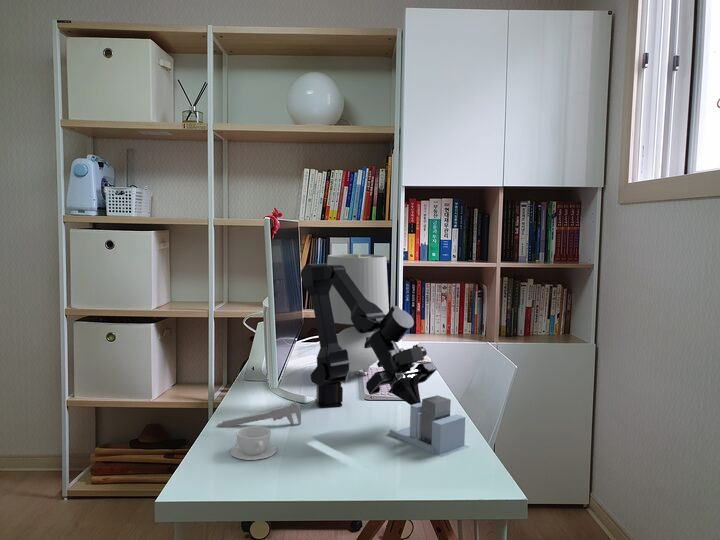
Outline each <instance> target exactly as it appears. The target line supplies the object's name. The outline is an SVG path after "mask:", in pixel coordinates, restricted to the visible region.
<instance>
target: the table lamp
mask: <svg viewBox="0 0 720 540" xmlns="http://www.w3.org/2000/svg"><path fill="white" fill-rule="evenodd" d="M326 261H327V262H326V264H327V265H342V266H344V267H345V269H346V273H347V274H348V275H349V277H350V278H351V279H352V281H353V282H354V284H355V285H356V286H357V288H358V289H359V290H360V292H361V293H362V294H363V296H364V297H365V298H366V299H367V300H368V301H370V302H372V303H374V304H376V305H377V306H378V307H379V308H380V309H381V310H382V311H383V312H384V314H385V315H386V314H387V313H388V312H389V310H390V308H389V307H390V303H389V285H388V284H389V283H388V269H387V268H388V266H387V265H388V264H387V256H385V255H380V254H366V253H365V254H364V253H363V254H362V253H361V254H360V253H344V254H343V253H340V254H339V253H335V254H328V255H327V260H326ZM329 296H330V301H331V307H332V312H333V318H334V323H335V324H341V325H353V326H350V327H347V328H344V329H343V330H341V331H340V332H338V333H336V334H337V340H338V344H339V346H340V347H341V348H342V349H346V350H347V352H348V359H349V362H350V364H349V371H348V374H347V378H346V381H343V382H346V383H347V381H348V378H349V373H350V372H353V374H354V375H359V372H360V371H362V373H363V374H364V372H370V367H371V366H373V365H374V364H376V362H377V361H379V360H378V358H377V356H376V355H375V353H374V351H373V349H372V348H364V345H365V342H366V337H370V336H371V335H372V334H373V333H374V332H371V333H359V332H358V331H357V330H356V328H355V326H354V324H353V322H352V320H351V311H350V309H349V308H348V306H347V305H346V303H345V302H344V300H343V299H342V298H341V296H340V295H339V293H338V292H337V290H336V289H335V288H334V286H333V285H332V286H331V289H330V292H329Z"/></svg>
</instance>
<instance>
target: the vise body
mask: <svg viewBox="0 0 720 540" xmlns="http://www.w3.org/2000/svg"><path fill="white" fill-rule="evenodd" d="M388 431H389V432H387V434H388V435H390V436H392V437H395V438H398V439H400V440H402V441H404V442H406V443H409V444H411V445H414V446H415V447H419V448H421V449H423V450H425V451H427V452H430V453H432V454H434V455H436V456H440V457H444V456H447V455H450V454H453V453H456V452H459V451H461V450H464V449H467V448H469V447H470V446H469V445H466V444H465V438H466V437H465V434H466V416H463V415H460V414H458V413H457V414H452V415H450V416H449V417H446V418H442V419H439V420H436V421H432V445H430V444H427V443H425V442H422V441H420V440H417V439H415V438H413V437H410V426H408V427H405V428H400V429H398V430H395V429H394V428H391V429H389V430H388Z"/></svg>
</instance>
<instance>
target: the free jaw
mask: <svg viewBox="0 0 720 540" xmlns="http://www.w3.org/2000/svg"><path fill="white" fill-rule="evenodd" d="M409 413H410V416H409V427H410V437H413V438H415V439H417V440H420V441H421V421H422V401H421V403H417V404H413V405H410V411H409Z"/></svg>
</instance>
